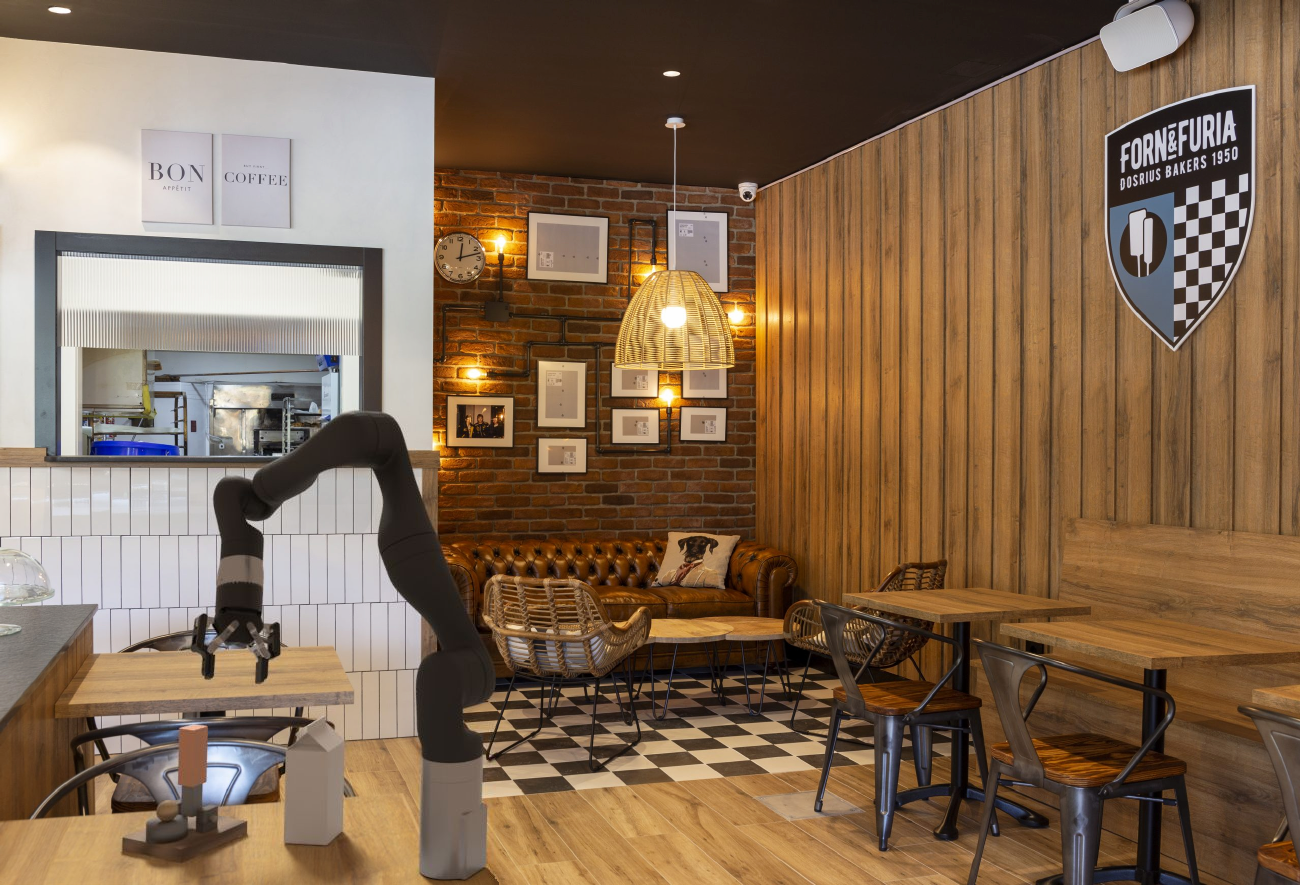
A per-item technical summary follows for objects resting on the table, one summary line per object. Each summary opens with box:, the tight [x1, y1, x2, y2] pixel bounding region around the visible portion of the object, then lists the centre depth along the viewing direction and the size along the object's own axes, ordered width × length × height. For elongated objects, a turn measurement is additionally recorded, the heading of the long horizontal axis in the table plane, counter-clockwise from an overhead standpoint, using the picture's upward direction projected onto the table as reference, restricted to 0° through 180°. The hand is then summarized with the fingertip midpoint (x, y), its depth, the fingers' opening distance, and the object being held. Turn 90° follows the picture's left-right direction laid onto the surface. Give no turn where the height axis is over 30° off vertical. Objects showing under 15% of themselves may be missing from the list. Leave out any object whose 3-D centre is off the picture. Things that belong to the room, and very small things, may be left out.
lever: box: [177, 723, 209, 817], centre depth 175 cm, size 3×3×14 cm
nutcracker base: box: [121, 798, 248, 863], centre depth 174 cm, size 12×14×8 cm
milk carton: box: [283, 715, 346, 846], centre depth 177 cm, size 7×7×19 cm
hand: (234, 680), depth 179 cm, fingers open, 8 cm apart
